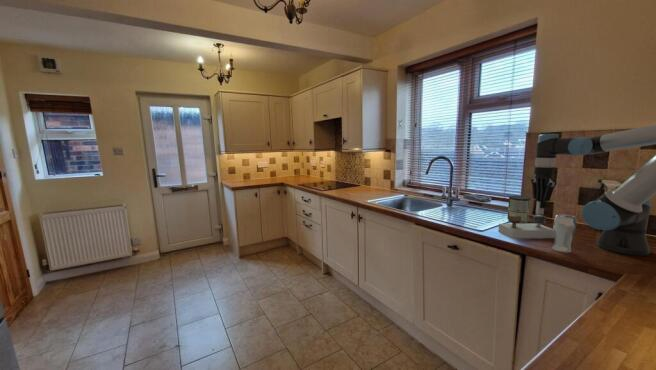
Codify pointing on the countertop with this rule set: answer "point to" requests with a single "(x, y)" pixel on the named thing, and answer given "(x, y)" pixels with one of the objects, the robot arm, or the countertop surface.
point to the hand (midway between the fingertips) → (539, 214)
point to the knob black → (539, 219)
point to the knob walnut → (514, 220)
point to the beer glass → (563, 232)
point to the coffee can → (519, 207)
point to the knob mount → (526, 231)
